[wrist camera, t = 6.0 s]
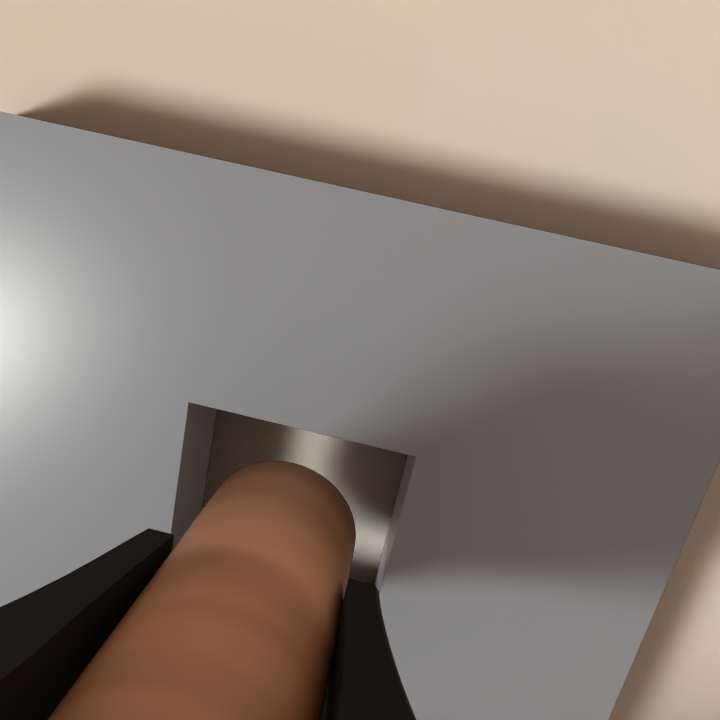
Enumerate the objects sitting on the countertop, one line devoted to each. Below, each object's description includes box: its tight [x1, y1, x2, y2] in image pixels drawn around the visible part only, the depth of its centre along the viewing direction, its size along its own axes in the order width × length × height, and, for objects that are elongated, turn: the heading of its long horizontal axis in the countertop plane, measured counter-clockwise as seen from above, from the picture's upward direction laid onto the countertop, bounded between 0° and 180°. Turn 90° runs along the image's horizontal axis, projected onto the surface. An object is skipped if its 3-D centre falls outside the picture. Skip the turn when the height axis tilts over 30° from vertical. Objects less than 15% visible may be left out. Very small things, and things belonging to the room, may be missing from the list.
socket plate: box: [0, 112, 720, 720], centre depth 16 cm, size 18×20×2 cm
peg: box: [48, 461, 356, 720], centre depth 11 cm, size 4×4×8 cm
